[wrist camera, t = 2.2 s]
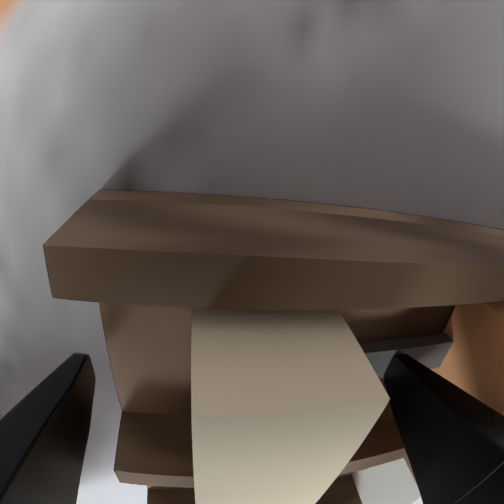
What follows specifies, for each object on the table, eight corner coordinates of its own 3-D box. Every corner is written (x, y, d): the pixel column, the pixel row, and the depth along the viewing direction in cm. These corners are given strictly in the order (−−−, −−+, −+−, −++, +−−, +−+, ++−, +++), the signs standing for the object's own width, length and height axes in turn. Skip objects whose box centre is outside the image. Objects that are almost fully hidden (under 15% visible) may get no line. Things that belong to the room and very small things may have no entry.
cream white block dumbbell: (194, 492, 13) (200, 559, 9) (192, 443, 11) (198, 537, 7) (430, 452, 15) (453, 498, 12) (474, 398, 13) (509, 448, 9)
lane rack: (150, 482, 14) (149, 532, 11) (99, 190, 7) (43, 245, 4) (424, 449, 17) (442, 483, 14) (545, 238, 10) (592, 270, 8)
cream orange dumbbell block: (191, 414, 10) (196, 523, 6) (193, 269, 7) (191, 414, 4) (492, 371, 12) (533, 423, 9) (542, 277, 10) (598, 325, 6)
